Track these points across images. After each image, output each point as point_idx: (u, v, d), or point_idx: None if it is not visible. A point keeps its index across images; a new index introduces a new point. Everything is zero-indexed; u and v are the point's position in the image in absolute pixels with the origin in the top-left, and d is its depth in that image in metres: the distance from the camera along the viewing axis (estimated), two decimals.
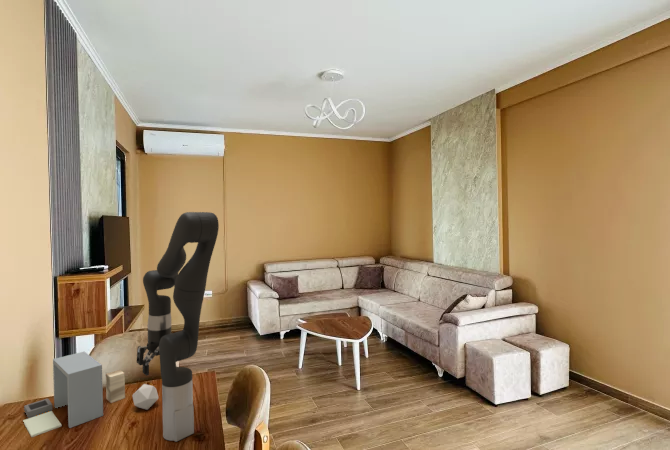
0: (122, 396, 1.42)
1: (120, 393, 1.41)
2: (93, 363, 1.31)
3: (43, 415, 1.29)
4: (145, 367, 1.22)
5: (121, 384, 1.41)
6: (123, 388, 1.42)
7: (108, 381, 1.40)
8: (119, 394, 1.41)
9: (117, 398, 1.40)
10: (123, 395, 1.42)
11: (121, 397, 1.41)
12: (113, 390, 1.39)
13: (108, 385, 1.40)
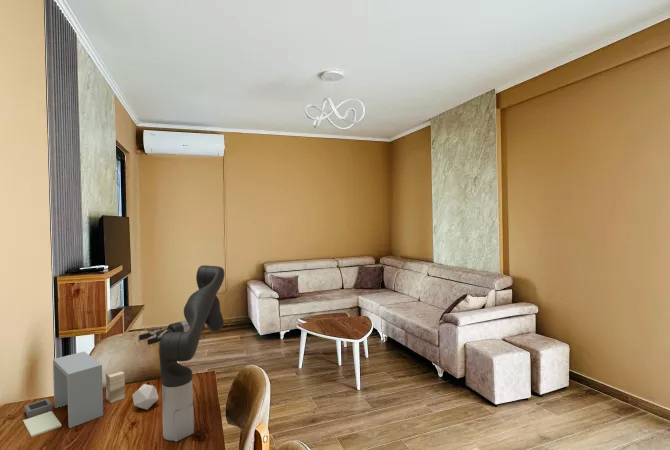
0: (122, 396, 1.42)
1: (120, 393, 1.41)
2: (93, 363, 1.31)
3: (43, 415, 1.29)
4: None
5: (121, 384, 1.41)
6: (123, 388, 1.42)
7: (108, 381, 1.40)
8: (119, 394, 1.41)
9: (117, 398, 1.40)
10: (123, 395, 1.42)
11: (121, 397, 1.41)
12: (114, 390, 1.39)
13: (108, 385, 1.40)
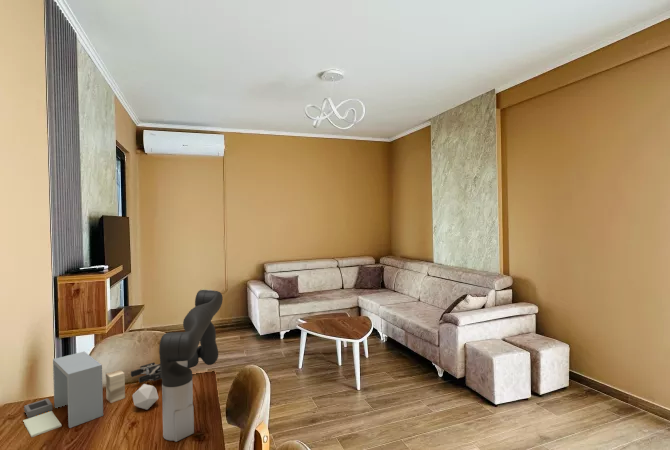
0: (122, 396, 1.42)
1: (120, 393, 1.41)
2: (93, 363, 1.31)
3: (43, 415, 1.29)
4: (138, 369, 1.53)
5: (121, 384, 1.41)
6: (123, 388, 1.42)
7: (108, 381, 1.40)
8: (119, 394, 1.41)
9: (117, 398, 1.40)
10: (123, 395, 1.42)
11: (121, 397, 1.41)
12: (114, 390, 1.39)
13: (108, 385, 1.40)
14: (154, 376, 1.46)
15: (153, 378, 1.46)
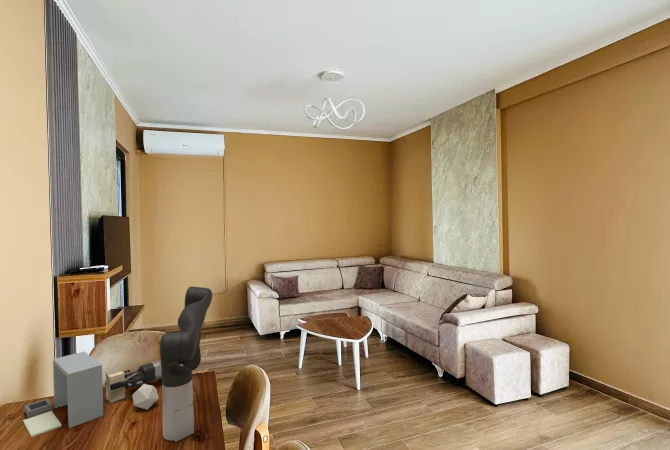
0: (122, 396, 1.42)
1: (120, 392, 1.41)
2: (93, 363, 1.31)
3: (43, 415, 1.29)
4: None
5: None
6: (123, 388, 1.42)
7: (108, 381, 1.40)
8: (119, 394, 1.41)
9: (117, 398, 1.40)
10: (123, 395, 1.42)
11: (121, 397, 1.41)
12: (113, 390, 1.39)
13: (108, 385, 1.40)
14: (126, 383, 1.40)
15: (125, 386, 1.40)
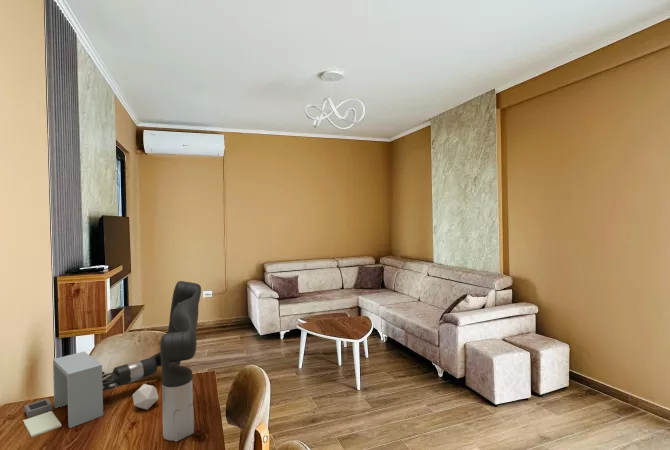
0: None
1: None
2: (93, 363, 1.31)
3: (43, 415, 1.29)
4: None
5: None
6: None
7: None
8: None
9: None
10: None
11: None
12: None
13: None
14: None
15: None
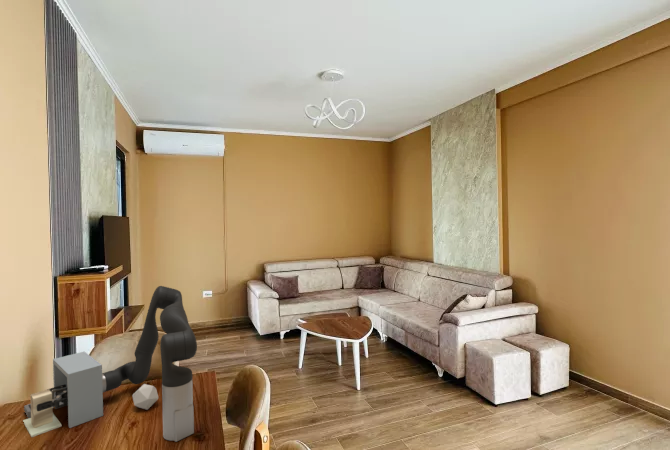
0: (50, 420, 1.24)
1: (47, 416, 1.24)
2: (93, 363, 1.31)
3: None
4: None
5: None
6: (50, 411, 1.24)
7: (32, 402, 1.22)
8: (46, 417, 1.23)
9: (43, 422, 1.23)
10: (50, 419, 1.24)
11: (48, 421, 1.24)
12: (38, 413, 1.22)
13: (32, 407, 1.22)
14: (56, 403, 1.22)
15: (55, 405, 1.22)
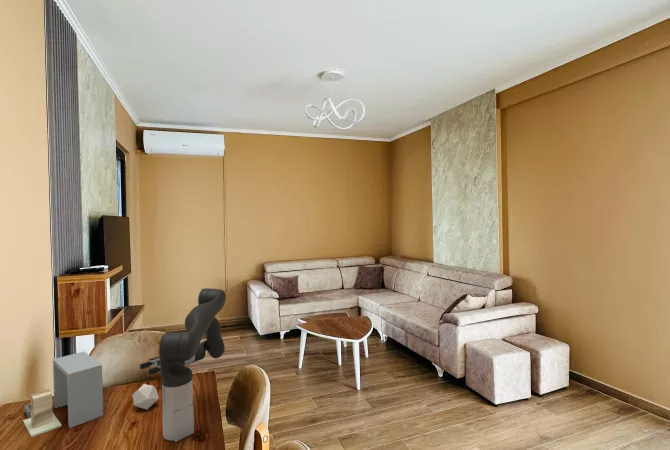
0: (50, 420, 1.24)
1: (47, 416, 1.24)
2: (93, 363, 1.31)
3: None
4: None
5: (48, 407, 1.24)
6: (50, 411, 1.24)
7: (32, 402, 1.22)
8: (46, 417, 1.23)
9: (43, 422, 1.23)
10: (50, 419, 1.24)
11: (48, 421, 1.24)
12: (38, 413, 1.22)
13: (32, 407, 1.22)
14: None
15: None
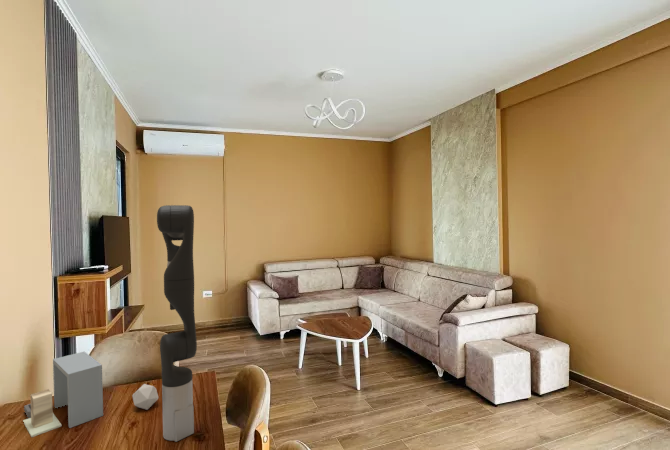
0: (50, 420, 1.24)
1: (47, 416, 1.24)
2: (93, 363, 1.31)
3: None
4: None
5: (48, 407, 1.24)
6: (50, 411, 1.24)
7: (32, 402, 1.22)
8: (46, 417, 1.23)
9: (43, 422, 1.23)
10: (50, 419, 1.24)
11: (48, 421, 1.24)
12: (38, 413, 1.22)
13: (32, 407, 1.22)
14: None
15: None
